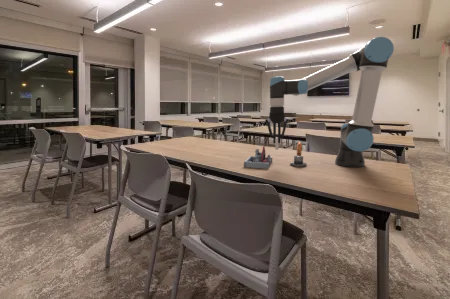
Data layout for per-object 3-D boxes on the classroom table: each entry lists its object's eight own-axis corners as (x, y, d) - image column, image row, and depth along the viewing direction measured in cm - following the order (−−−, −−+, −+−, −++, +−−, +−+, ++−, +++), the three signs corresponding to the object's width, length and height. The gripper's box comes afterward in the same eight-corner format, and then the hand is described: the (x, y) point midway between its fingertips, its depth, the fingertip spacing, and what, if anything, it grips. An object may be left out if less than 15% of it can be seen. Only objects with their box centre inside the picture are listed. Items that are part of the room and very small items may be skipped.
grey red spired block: (274, 163, 138) (261, 145, 139) (258, 173, 142) (245, 156, 142) (276, 159, 149) (264, 142, 149) (261, 169, 153) (249, 152, 153)
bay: (272, 162, 151) (272, 157, 150) (268, 168, 136) (268, 163, 135) (250, 160, 155) (250, 156, 154) (244, 167, 140) (244, 161, 139)
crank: (302, 164, 141) (303, 145, 139) (293, 163, 142) (294, 145, 140) (303, 159, 153) (304, 142, 151) (294, 159, 154) (295, 142, 152)
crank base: (306, 163, 147) (306, 161, 147) (306, 167, 138) (306, 165, 138) (290, 162, 150) (290, 160, 149) (289, 166, 141) (289, 164, 141)
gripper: (289, 105, 139) (289, 148, 143) (266, 106, 143) (266, 147, 147) (288, 106, 132) (288, 150, 136) (263, 106, 136) (264, 150, 140)
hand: (276, 149), depth 141 cm, fingers closed
